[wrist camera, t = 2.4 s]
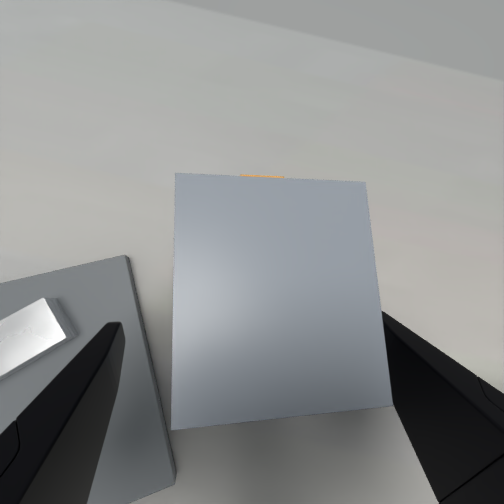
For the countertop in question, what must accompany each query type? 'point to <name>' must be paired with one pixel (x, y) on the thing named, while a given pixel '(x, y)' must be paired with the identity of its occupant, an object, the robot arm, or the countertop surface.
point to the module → (274, 300)
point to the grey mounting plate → (66, 348)
